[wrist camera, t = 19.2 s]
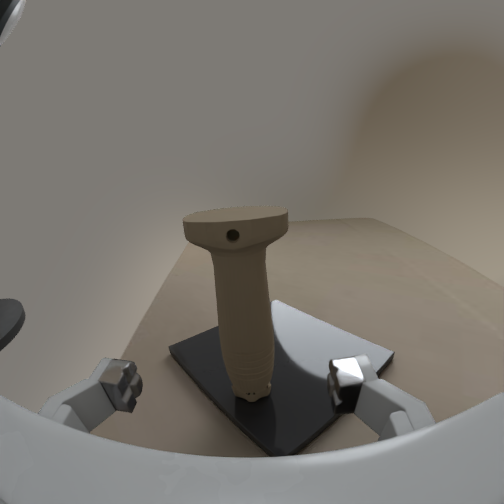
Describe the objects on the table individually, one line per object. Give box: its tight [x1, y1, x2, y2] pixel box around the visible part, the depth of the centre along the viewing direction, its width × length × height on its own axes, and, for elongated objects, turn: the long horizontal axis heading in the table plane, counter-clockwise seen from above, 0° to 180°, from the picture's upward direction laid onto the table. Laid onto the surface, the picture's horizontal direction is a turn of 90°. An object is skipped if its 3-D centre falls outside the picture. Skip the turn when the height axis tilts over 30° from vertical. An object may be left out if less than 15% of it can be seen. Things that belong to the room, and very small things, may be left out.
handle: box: [183, 206, 288, 402], centre depth 19 cm, size 5×6×15 cm
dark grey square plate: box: [169, 300, 395, 457], centre depth 26 cm, size 16×18×1 cm
